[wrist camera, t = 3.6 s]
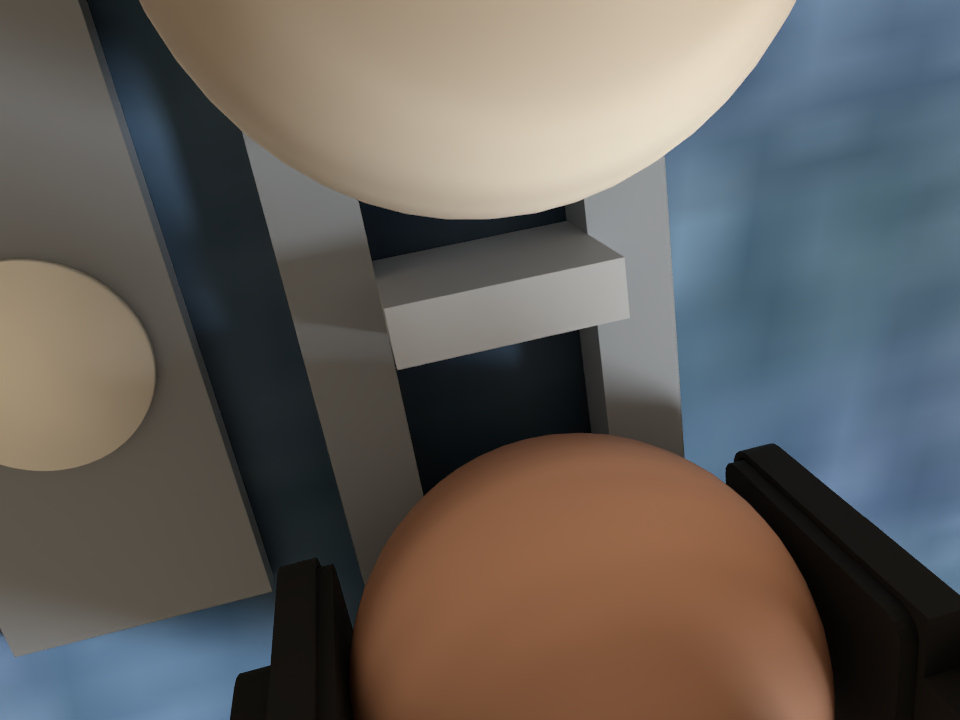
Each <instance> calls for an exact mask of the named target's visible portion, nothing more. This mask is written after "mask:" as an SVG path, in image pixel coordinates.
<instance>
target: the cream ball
mask: <svg viewBox="0 0 960 720" xmlns="http://www.w3.org/2000/svg"><path fill="white" fill-rule="evenodd" d="M139 1H140V3H141V5H142V7H143V9H144V11H145V13H146V15H147V16H148V18H149V19H150V21H151V23H152V24H153V26H154V27H155V29H156V30H157V32H158V33H159V35H160V36H161V38H162V39H163V41H164V42H165V44H166V45H167V47H168V49H169V50H170V52H171V53H172V55H173V56H174V58H175V59H176V61H177V62H178V63H179V64H180V65H181V67H182V68H183V69H184V70H185V71H186V73H187V74H188V75H189V76H190V77H191V79H192V80H193V81H194V82H195V83H196V85H197V86H198V87H199V88H200V89H201V91H202V92H203V93H204V94H205V96H206V97H207V98H208V99H209V100H210V101H211V102H212V103H213V104H214V105H215V106H216V107H217V108H218V109H219V110H220V111H221V112H222V113H223V114H224V115H225V116H227V117H228V118H229V119H230V120H231V121H232V122H233V123H234V124H235V125H236V126H237V127H238V128H239V129H240V130H241V131H242V132H243V133H244V134H245V135H247V136H248V137H249V138H251V139H252V140H253V141H255V142H256V143H257V144H259V145H260V146H261V147H263V148H264V149H265V150H267V151H268V152H269V153H271V154H272V155H274V156H275V157H276V158H278V159H279V160H280V161H282V162H283V163H284V164H286V165H288V166H290V167H291V168H293V169H295V170H297V171H298V172H300V173H302V174H304V175H305V176H307V177H309V178H311V179H312V180H314V181H316V182H318V183H319V184H321V185H323V186H325V187H327V188H330V189H332V190H335V191H337V192H340V193H342V194H344V195H347V196H349V197H352V198H354V199H356V200H359V201H361V202H364V203H367V204H371V205H374V206H378V207H382V208H386V209H389V210H393V211H397V212H401V213H404V214H410V215H418V216H425V217H433V218H441V219H496V218H504V217H511V216H518V215H526V214H533V213H538V212H542V211H546V210H549V209H553V208H557V207H560V206H564V205H568V204H571V203H575V202H578V201H580V200H582V199H585V198H587V197H589V196H592V195H594V194H597V193H599V192H601V191H604V190H606V189H609V188H611V187H613V186H615V185H617V184H619V183H620V182H622V181H624V180H625V179H627V178H629V177H631V176H632V175H634V174H636V173H638V172H639V171H641V170H643V169H645V168H646V167H648V166H650V165H651V164H653V163H654V162H655V161H657V160H658V159H660V158H661V157H663V156H664V155H665V154H666V153H668V152H669V151H670V150H672V149H673V148H674V147H676V146H677V145H678V144H680V143H681V142H682V141H684V140H685V139H686V138H688V137H689V136H690V135H692V134H693V133H694V132H695V131H696V130H697V129H698V128H700V127H701V126H702V125H703V124H704V123H705V122H706V121H707V120H708V119H709V118H710V117H711V116H712V115H713V114H714V113H715V112H716V111H717V110H718V109H719V108H720V107H721V106H722V105H723V104H724V103H725V102H726V101H727V100H728V99H729V98H730V97H731V95H732V94H733V93H734V92H735V91H736V89H737V88H738V87H739V86H740V84H741V83H742V82H743V81H744V80H745V78H746V77H747V76H748V75H749V74H750V72H751V71H752V70H753V69H754V67H755V66H756V65H757V63H758V62H759V60H760V59H761V57H762V55H763V54H764V52H765V51H766V49H767V48H768V46H769V45H770V43H771V42H772V40H773V39H774V37H775V36H776V34H777V33H778V31H779V29H780V28H781V26H782V25H783V23H784V22H785V20H786V18H787V17H788V15H789V13H790V11H791V10H792V8H793V6H794V4H795V2H796V0H139Z"/></svg>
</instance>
